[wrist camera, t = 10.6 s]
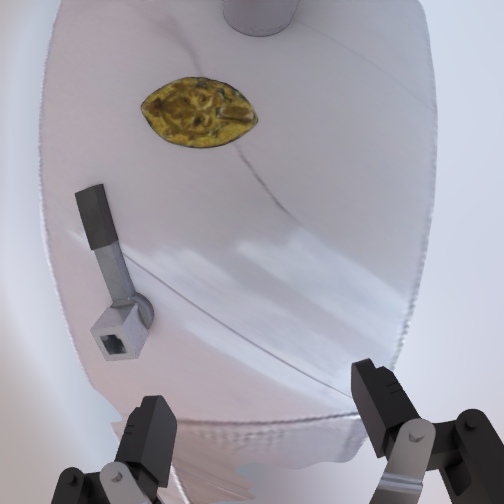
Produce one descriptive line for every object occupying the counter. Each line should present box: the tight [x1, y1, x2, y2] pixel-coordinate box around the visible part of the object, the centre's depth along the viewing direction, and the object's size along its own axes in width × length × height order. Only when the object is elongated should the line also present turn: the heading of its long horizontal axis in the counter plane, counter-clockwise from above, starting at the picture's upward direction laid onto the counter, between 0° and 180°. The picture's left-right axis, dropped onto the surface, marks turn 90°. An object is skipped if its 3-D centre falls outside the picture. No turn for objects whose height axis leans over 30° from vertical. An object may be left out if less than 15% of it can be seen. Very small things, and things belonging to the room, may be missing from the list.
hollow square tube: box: [90, 303, 149, 361], centre depth 34 cm, size 5×5×6 cm
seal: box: [141, 77, 258, 148], centre depth 30 cm, size 9×5×15 cm
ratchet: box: [75, 184, 154, 339], centre depth 34 cm, size 22×6×6 cm, turn 12°
